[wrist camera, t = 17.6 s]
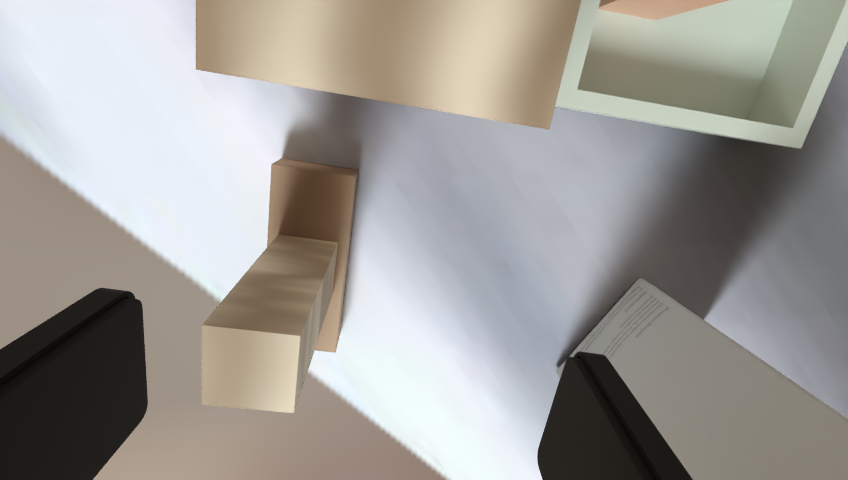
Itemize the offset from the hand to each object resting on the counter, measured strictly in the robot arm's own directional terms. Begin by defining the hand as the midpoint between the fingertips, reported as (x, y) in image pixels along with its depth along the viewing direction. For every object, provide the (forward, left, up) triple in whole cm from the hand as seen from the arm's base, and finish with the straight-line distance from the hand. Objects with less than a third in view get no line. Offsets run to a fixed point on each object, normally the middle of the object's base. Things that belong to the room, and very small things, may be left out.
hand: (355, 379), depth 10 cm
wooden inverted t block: (+3, +3, -15) cm, 16 cm away
